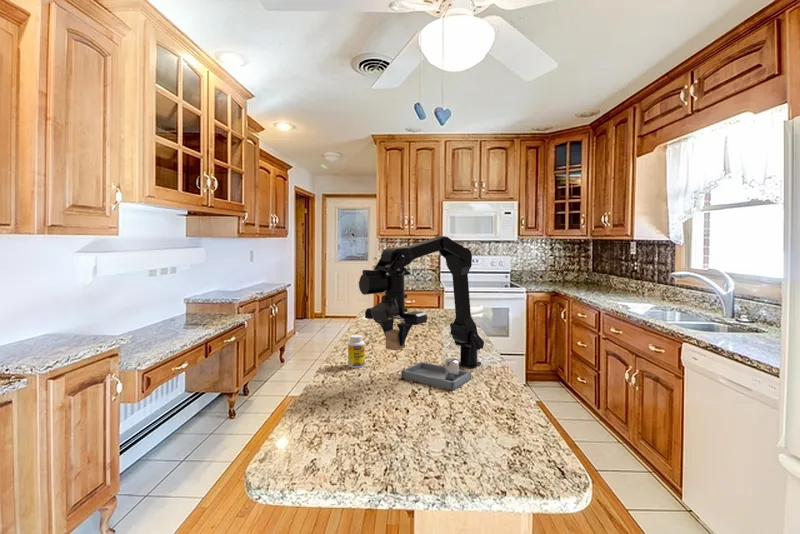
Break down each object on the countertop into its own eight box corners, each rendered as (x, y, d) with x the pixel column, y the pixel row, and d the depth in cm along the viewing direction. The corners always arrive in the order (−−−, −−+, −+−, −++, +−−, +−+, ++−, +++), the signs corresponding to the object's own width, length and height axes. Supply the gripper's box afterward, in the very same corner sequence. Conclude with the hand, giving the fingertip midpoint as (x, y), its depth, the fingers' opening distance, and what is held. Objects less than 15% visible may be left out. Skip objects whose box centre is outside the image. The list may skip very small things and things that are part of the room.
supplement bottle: (352, 369, 130) (352, 338, 129) (345, 365, 134) (345, 335, 134) (367, 366, 133) (367, 336, 132) (360, 362, 138) (359, 333, 137)
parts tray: (421, 368, 131) (421, 361, 131) (471, 379, 120) (471, 372, 120) (401, 377, 122) (401, 370, 122) (453, 390, 111) (453, 382, 111)
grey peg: (449, 376, 121) (449, 357, 120) (461, 379, 118) (461, 359, 118) (442, 380, 118) (442, 360, 117) (454, 383, 115) (454, 363, 115)
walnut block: (394, 345, 119) (393, 328, 119) (404, 347, 117) (404, 330, 117) (385, 348, 116) (385, 331, 116) (396, 350, 114) (396, 333, 113)
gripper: (351, 292, 114) (353, 346, 116) (404, 297, 103) (405, 356, 105) (376, 288, 123) (377, 337, 125) (427, 292, 112) (428, 346, 113)
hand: (395, 344), depth 117 cm, fingers closed on walnut block, 4 cm apart
